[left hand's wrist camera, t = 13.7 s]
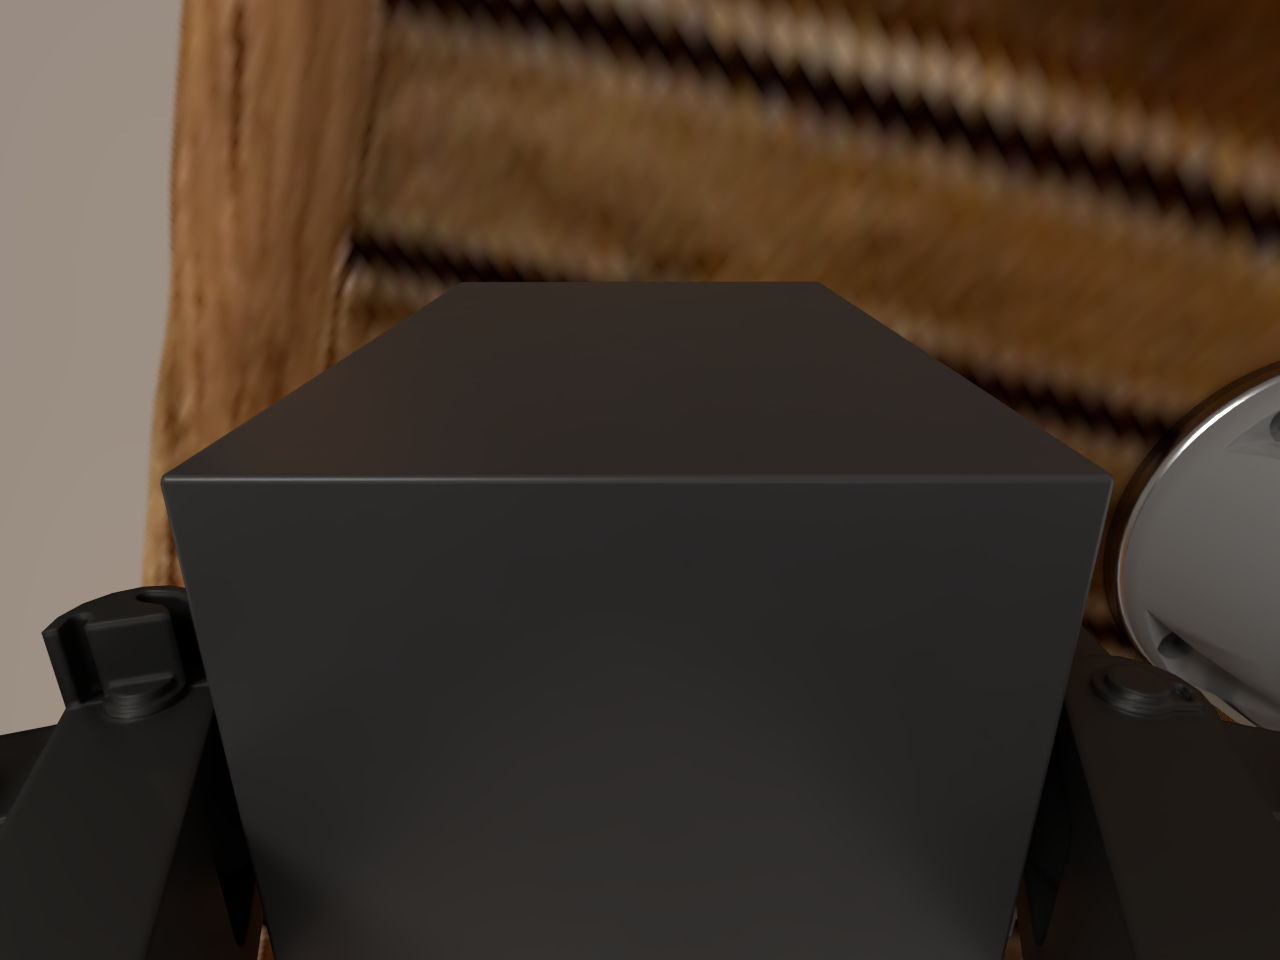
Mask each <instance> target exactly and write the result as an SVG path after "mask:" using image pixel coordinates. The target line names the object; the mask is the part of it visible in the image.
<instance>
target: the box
mask: <svg viewBox="0 0 1280 960" xmlns="http://www.w3.org/2000/svg"><path fill="white" fill-rule="evenodd" d="M1113 486H1114V478H1113V476H1112V475H1111V474H1110V473H1108V472H1107V471H1105V470H1104V469H1102V468H1101V467H1099V466H1098V465H1096V464H1095V463H1093V462H1092V461H1090V460H1088V459H1087V458H1085V457H1084V456H1082V455H1081V454H1079V453H1078V452H1076V451H1075V450H1073V449H1072V448H1070V447H1069V446H1067V445H1066V444H1064V443H1063V442H1061V441H1060V440H1058V439H1057V438H1055V437H1053V436H1052V435H1050V434H1049V433H1047V432H1046V431H1044V430H1043V429H1041V428H1040V427H1038V426H1037V425H1035V424H1034V423H1032V422H1031V421H1029V420H1028V419H1026V418H1025V417H1023V416H1022V415H1020V414H1019V413H1017V412H1015V411H1014V410H1012V409H1011V408H1009V407H1008V406H1006V405H1005V404H1003V403H1002V402H1000V401H999V400H997V399H996V398H994V397H993V396H991V395H990V394H988V393H987V392H985V391H984V390H982V389H981V388H979V387H977V386H976V385H974V384H973V383H971V382H970V381H968V380H967V379H965V378H964V377H962V376H961V375H959V374H958V373H956V372H955V371H953V370H952V369H950V368H949V367H947V366H946V365H944V364H943V363H941V362H939V361H938V360H936V359H935V358H933V357H932V356H930V355H929V354H927V353H926V352H924V351H923V350H921V349H920V348H918V347H917V346H915V345H914V344H912V343H911V342H909V341H908V340H906V339H905V338H903V337H901V336H900V335H898V334H897V333H895V332H894V331H892V330H891V329H889V328H888V327H886V326H885V325H883V324H882V323H880V322H879V321H877V320H876V319H874V318H873V317H871V316H870V315H868V314H867V313H865V312H863V311H862V310H860V309H859V308H857V307H856V306H854V305H853V304H851V303H850V302H848V301H847V300H845V299H844V298H842V297H841V296H839V295H838V294H836V293H835V292H833V291H832V290H830V289H829V288H827V287H825V286H824V285H822V284H821V283H819V282H462V283H460V284H458V285H457V286H455V287H454V288H452V289H451V290H449V291H448V292H446V293H445V294H443V295H441V296H440V297H438V298H437V299H435V300H434V301H432V302H431V303H429V304H427V305H426V306H424V307H423V308H421V309H420V310H418V311H417V312H415V313H414V314H412V315H410V316H409V317H407V318H406V319H404V320H403V321H401V322H400V323H398V324H397V325H395V326H393V327H392V328H390V329H389V330H387V331H386V332H384V333H383V334H381V335H380V336H378V337H376V338H375V339H373V340H372V341H370V342H369V343H367V344H366V345H364V346H363V347H361V348H359V349H358V350H356V351H355V352H353V353H352V354H350V355H349V356H347V357H346V358H344V359H342V360H341V361H339V362H338V363H336V364H335V365H333V366H332V367H330V368H329V369H327V370H325V371H324V372H322V373H321V374H319V375H318V376H316V377H315V378H313V379H312V380H310V381H308V382H307V383H305V384H304V385H302V386H301V387H299V388H298V389H296V390H295V391H293V392H291V393H290V394H288V395H287V396H285V397H284V398H282V399H281V400H279V401H278V402H276V403H274V404H273V405H271V406H270V407H268V408H267V409H265V410H264V411H262V412H261V413H259V414H257V415H256V416H254V417H253V418H251V419H250V420H248V421H247V422H245V423H244V424H242V425H240V426H239V427H237V428H236V429H234V430H233V431H231V432H230V433H228V434H226V435H225V436H223V437H222V438H220V439H219V440H217V441H216V442H214V443H213V444H211V445H209V446H208V447H206V448H205V449H203V450H202V451H200V452H199V453H197V454H196V455H194V456H192V457H191V458H189V459H188V460H186V461H185V462H183V463H182V464H180V465H179V466H177V467H175V468H174V469H172V470H171V471H169V472H168V473H166V474H165V475H163V476H162V478H161V488H162V492H163V496H164V501H165V505H166V509H167V513H168V517H169V521H170V526H171V530H172V534H173V538H174V542H175V546H176V551H177V555H178V559H179V563H180V567H181V571H182V576H183V580H184V584H185V588H186V592H187V597H188V601H189V605H190V609H191V613H192V617H193V622H194V626H195V630H196V634H197V638H198V642H199V647H200V651H201V655H202V659H203V663H204V667H205V672H206V676H207V680H208V684H209V688H210V692H211V697H212V701H213V705H214V709H215V713H216V717H217V722H218V726H219V730H220V734H221V738H222V742H223V747H224V751H225V755H226V759H227V763H228V767H229V772H230V776H231V780H232V784H233V788H234V792H235V797H236V801H237V805H238V809H239V813H240V818H241V822H242V826H243V830H244V834H245V838H246V843H247V847H248V851H249V855H250V859H251V863H252V868H253V872H254V876H255V880H256V884H257V888H258V893H259V897H260V901H261V905H262V909H263V913H264V918H265V922H266V926H267V930H268V934H269V938H270V943H271V947H272V951H273V955H274V959H275V960H1003V958H1004V953H1005V949H1006V945H1007V940H1008V936H1009V932H1010V928H1011V923H1012V919H1013V915H1014V910H1015V906H1016V902H1017V898H1018V893H1019V889H1020V885H1021V880H1022V876H1023V872H1024V868H1025V863H1026V859H1027V855H1028V850H1029V846H1030V842H1031V838H1032V833H1033V829H1034V825H1035V820H1036V816H1037V812H1038V808H1039V803H1040V799H1041V795H1042V790H1043V786H1044V782H1045V778H1046V773H1047V769H1048V765H1049V760H1050V756H1051V752H1052V748H1053V743H1054V739H1055V735H1056V730H1057V726H1058V722H1059V718H1060V713H1061V709H1062V705H1063V700H1064V696H1065V692H1066V688H1067V683H1068V679H1069V675H1070V670H1071V666H1072V662H1073V658H1074V653H1075V649H1076V645H1077V640H1078V636H1079V632H1080V627H1081V623H1082V619H1083V615H1084V610H1085V606H1086V602H1087V597H1088V593H1089V589H1090V585H1091V580H1092V576H1093V572H1094V567H1095V563H1096V559H1097V555H1098V550H1099V546H1100V542H1101V537H1102V533H1103V529H1104V525H1105V520H1106V516H1107V512H1108V507H1109V503H1110V499H1111V495H1112V490H1113Z"/></svg>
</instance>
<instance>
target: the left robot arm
mask: <svg viewBox="0 0 1280 960" xmlns="http://www.w3.org/2000/svg"><path fill="white" fill-rule="evenodd" d="M1104 578H1105V587H1106V592H1107V598H1108V601H1109V604H1110V607H1111V611H1112V613H1113V615H1114V617H1115V619H1116V622H1117V624H1118V625H1119V627H1120V629H1121V630H1122V632H1123V633H1124V635H1125V636H1126V638H1127V639H1128V640H1129V641H1130V643H1131V644H1132V645H1133V646H1134V647H1135V648H1136V649H1137V650H1138V651H1139V652H1140V653H1141V654H1142V655H1143V656H1144V657H1145V658H1146V659H1147V660H1148V661H1149V662H1150V663H1151V664H1152V665H1151V664H1149V663H1145V662H1141V661H1137V660H1133V659H1129V658H1125V657H1120V656H1111V655H1110V654H1109V653H1108V652H1107V651H1106V650H1105V649H1104V648H1103V647H1102V646H1101V645H1100V644H1099V643H1098V642H1097V641H1096V640H1095V639H1094V638H1093V636H1092V635H1091V634H1090V633H1089V632H1088V631H1087V630H1086V629H1085V628H1084V627H1083V626H1082V625H1081V627H1080V632H1079V636H1078V640H1077V645H1076V649H1075V653H1074V658H1073V662H1072V666H1071V670H1070V675H1069V679H1068V683H1067V688H1066V692H1065V696H1064V700H1063V705H1062V709H1061V713H1060V718H1059V722H1058V726H1057V730H1056V735H1055V739H1054V743H1053V748H1052V752H1051V756H1050V760H1049V765H1048V769H1047V773H1046V778H1045V782H1044V786H1043V790H1042V795H1041V799H1040V803H1039V808H1038V812H1037V816H1036V820H1035V825H1034V829H1033V833H1032V838H1031V842H1030V846H1029V850H1028V855H1027V859H1026V863H1025V868H1024V872H1023V876H1022V880H1021V885H1020V889H1019V893H1018V898H1017V902H1016V906H1015V910H1014V915H1013V919H1012V923H1011V928H1010V932H1009V936H1008V937H1011V936H1012V932H1013V928H1014V924H1015V920H1016V919H1017V918H1018V926H1019V933H1020V940H1021V948H1022V955H1023V959H1022V960H1280V361H1278V362H1275V363H1272V364H1270V365H1267V366H1265V367H1263V368H1260V369H1258V370H1256V371H1253V372H1251V373H1249V374H1247V375H1245V376H1243V377H1241V378H1239V379H1237V380H1235V381H1233V382H1232V383H1230V384H1228V385H1227V386H1225V387H1223V388H1222V389H1220V390H1219V391H1217V392H1215V393H1214V394H1212V395H1211V396H1209V397H1208V398H1207V399H1205V400H1204V401H1203V402H1201V403H1200V404H1198V405H1197V406H1196V407H1194V408H1193V409H1192V410H1191V411H1190V412H1188V413H1187V414H1186V415H1185V416H1184V417H1183V418H1181V419H1180V420H1179V421H1178V422H1177V423H1176V424H1175V425H1174V426H1173V427H1172V428H1171V429H1170V430H1169V431H1168V432H1167V433H1166V434H1165V435H1164V436H1163V437H1162V438H1161V439H1160V440H1159V441H1158V443H1157V444H1156V445H1155V446H1154V447H1153V448H1152V449H1151V451H1150V452H1149V453H1148V454H1147V456H1146V457H1145V459H1144V460H1143V461H1142V463H1141V464H1140V465H1139V467H1138V468H1137V470H1136V471H1135V473H1134V475H1133V476H1132V478H1131V479H1130V481H1129V483H1128V484H1127V486H1126V488H1125V490H1124V492H1123V494H1122V496H1121V498H1120V500H1119V503H1118V505H1117V508H1116V510H1115V513H1114V515H1113V518H1112V521H1111V525H1110V529H1109V532H1108V536H1107V542H1106V548H1105V558H1104ZM42 635H43V639H44V642H45V645H46V648H47V651H48V654H49V657H50V660H51V663H52V667H53V670H54V673H55V676H56V679H57V682H58V685H59V688H60V691H61V694H62V697H63V700H64V703H65V707H66V709H65V711H64V713H63V715H62V717H61V718H60V720H59V722H58V724H56V725H52V726H47V727H42V728H36V729H31V730H26V731H21V732H15V733H10V734H5V735H0V960H257V957H258V950H259V943H260V935H261V928H262V921H263V909H262V905H261V901H260V897H259V893H258V888H257V884H256V880H255V876H254V872H253V868H252V863H251V859H250V855H249V851H248V847H247V843H246V838H245V834H244V830H243V826H242V822H241V818H240V813H239V809H238V805H237V801H236V797H235V792H234V788H233V784H232V780H231V776H230V772H229V767H228V763H227V759H226V755H225V751H224V747H223V742H222V738H221V734H220V730H219V726H218V722H217V717H216V713H215V709H214V705H213V701H212V697H211V692H210V688H209V684H208V680H207V676H206V672H205V667H204V663H203V659H202V655H201V651H200V647H199V642H198V638H197V634H196V630H195V626H194V622H193V617H192V613H191V609H190V605H189V601H188V597H187V592H186V588H183V587H177V586H171V585H168V586H149V587H139V588H135V589H130V590H125V591H120V592H116V593H111V594H109V595H106V596H103V597H100V598H97V599H95V600H92V601H89V602H86V603H83V604H81V605H79V606H78V607H76V608H74V609H72V610H70V611H69V612H67V613H65V614H63V615H61V616H59V617H58V618H57V619H55V620H54V621H53V622H52V623H51V624H50V625H49V626H48V627H47V628H46V629H45V630H44V631H43V632H42ZM1213 705H1214V706H1216V707H1217V708H1218V709H1220V710H1221V711H1222V712H1224V713H1225V714H1226V715H1228V716H1229V717H1230V718H1232V719H1233V720H1234V721H1236V722H1238V723H1240V724H1238V723H1232V722H1228V721H1224V720H1221V719H1220V717H1219V715H1218V713H1217V711H1216V709H1215V708H1214V706H1213ZM1251 722H1252V723H1254V724H1256V725H1258V726H1260V727H1263V728H1259V727H1256V726H1255V725H1254V724H1252V723H1251ZM1264 728H1265V729H1264Z"/></svg>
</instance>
